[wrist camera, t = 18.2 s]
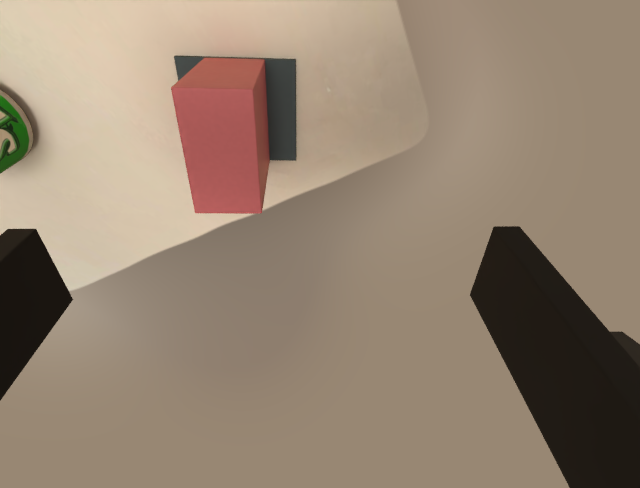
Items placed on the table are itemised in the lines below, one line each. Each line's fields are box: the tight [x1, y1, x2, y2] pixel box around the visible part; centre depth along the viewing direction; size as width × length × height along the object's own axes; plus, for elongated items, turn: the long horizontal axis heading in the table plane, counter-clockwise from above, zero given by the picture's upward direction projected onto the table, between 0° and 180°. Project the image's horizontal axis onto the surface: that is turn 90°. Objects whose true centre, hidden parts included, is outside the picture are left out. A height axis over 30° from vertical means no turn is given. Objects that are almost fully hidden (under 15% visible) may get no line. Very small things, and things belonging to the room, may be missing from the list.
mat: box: [174, 56, 296, 160], centre depth 33 cm, size 10×9×1 cm
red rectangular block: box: [171, 58, 270, 213], centre depth 29 cm, size 5×9×10 cm, turn 178°
